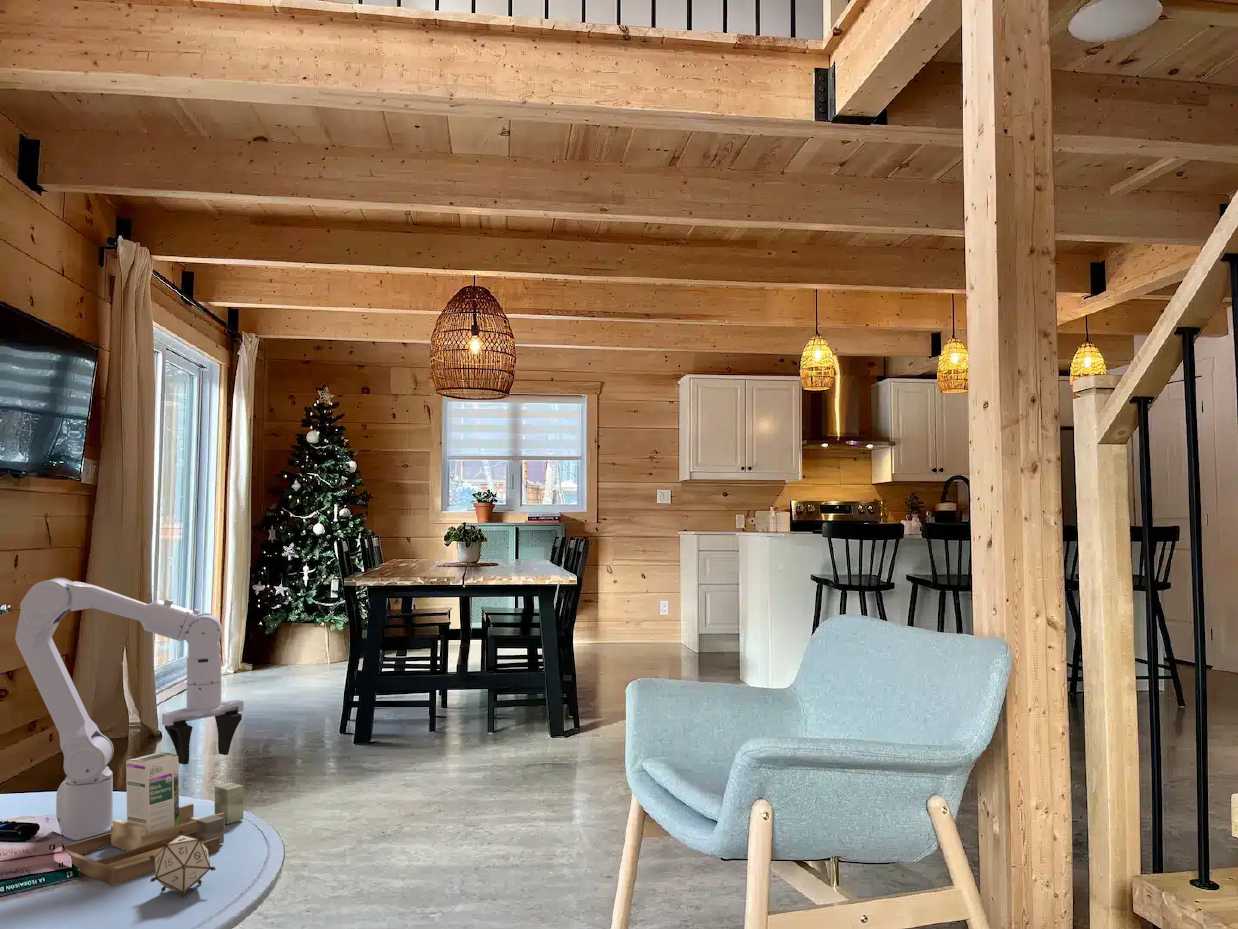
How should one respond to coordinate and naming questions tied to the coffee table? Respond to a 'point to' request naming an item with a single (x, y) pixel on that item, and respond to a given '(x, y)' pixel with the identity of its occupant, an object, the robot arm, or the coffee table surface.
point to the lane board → (119, 858)
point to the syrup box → (153, 791)
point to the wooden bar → (205, 827)
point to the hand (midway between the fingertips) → (203, 758)
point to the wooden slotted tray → (180, 820)
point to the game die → (181, 863)
